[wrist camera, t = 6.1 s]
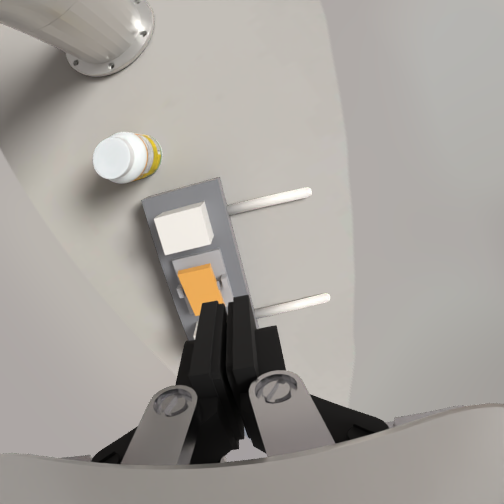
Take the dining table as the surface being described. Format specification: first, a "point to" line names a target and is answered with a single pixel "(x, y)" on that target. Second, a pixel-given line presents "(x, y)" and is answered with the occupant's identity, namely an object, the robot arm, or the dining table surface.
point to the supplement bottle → (127, 157)
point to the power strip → (218, 240)
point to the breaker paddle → (200, 286)
